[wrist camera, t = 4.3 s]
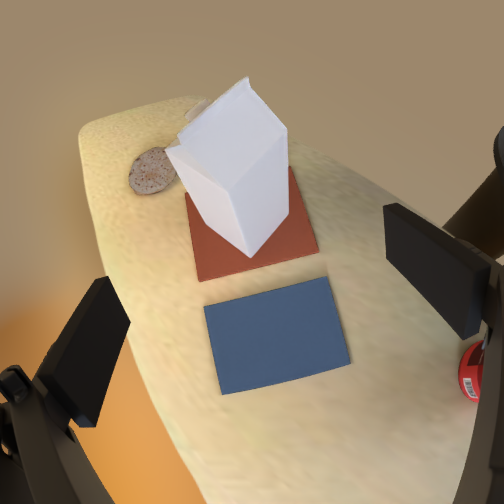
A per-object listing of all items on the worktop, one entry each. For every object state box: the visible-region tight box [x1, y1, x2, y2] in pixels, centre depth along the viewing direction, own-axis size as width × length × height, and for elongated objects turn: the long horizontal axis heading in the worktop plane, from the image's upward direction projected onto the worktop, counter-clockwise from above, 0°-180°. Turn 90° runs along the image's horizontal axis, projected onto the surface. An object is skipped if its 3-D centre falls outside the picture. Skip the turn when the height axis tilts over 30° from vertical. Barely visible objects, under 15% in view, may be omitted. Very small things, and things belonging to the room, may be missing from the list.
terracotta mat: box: [185, 166, 319, 282], centre depth 38 cm, size 14×12×1 cm
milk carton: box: [165, 76, 289, 258], centre depth 29 cm, size 7×7×19 cm
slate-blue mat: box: [204, 276, 351, 395], centre depth 33 cm, size 14×10×1 cm
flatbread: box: [129, 147, 177, 195], centre depth 42 cm, size 8×8×1 cm
